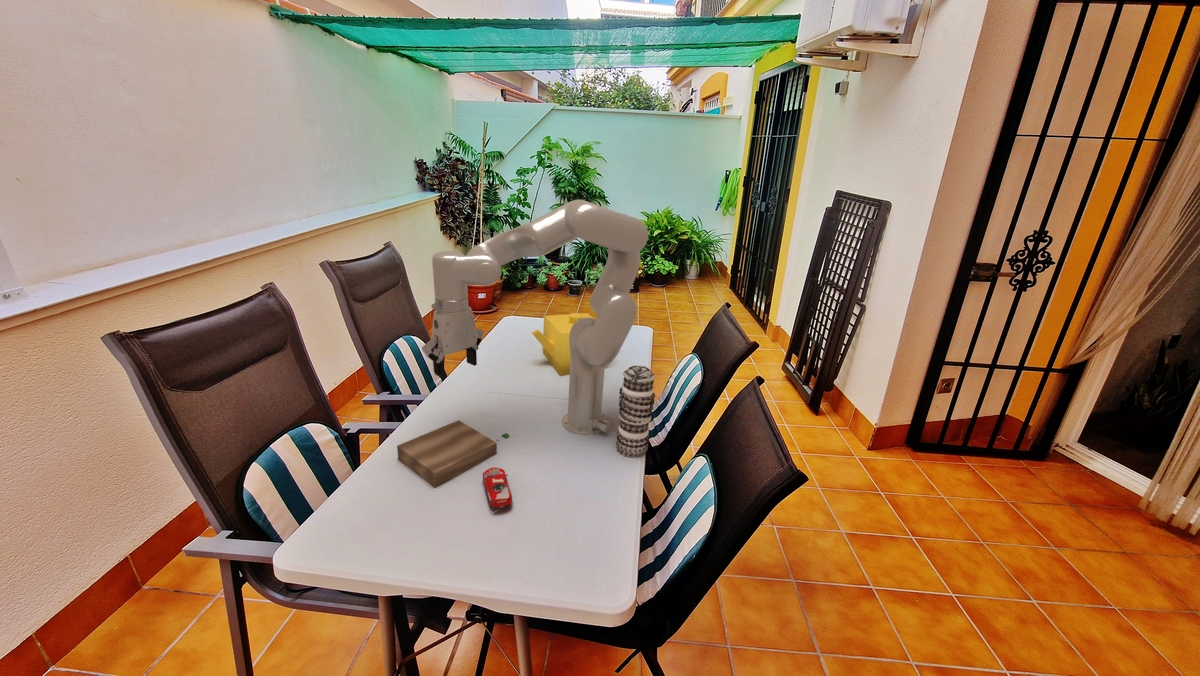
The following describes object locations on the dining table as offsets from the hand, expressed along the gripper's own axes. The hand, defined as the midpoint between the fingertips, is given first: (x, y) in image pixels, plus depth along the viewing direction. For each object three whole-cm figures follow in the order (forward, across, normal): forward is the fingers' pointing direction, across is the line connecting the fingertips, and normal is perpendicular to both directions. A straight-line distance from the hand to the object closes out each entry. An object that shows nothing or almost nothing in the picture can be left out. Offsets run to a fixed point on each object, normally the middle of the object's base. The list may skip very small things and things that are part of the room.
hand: (456, 369), depth 123 cm
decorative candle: (+23, +27, -36) cm, 51 cm away
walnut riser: (+22, -6, -3) cm, 23 cm away
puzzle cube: (+23, +8, -7) cm, 25 cm away
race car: (+24, -6, -19) cm, 31 cm away
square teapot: (+23, +58, +11) cm, 63 cm away
